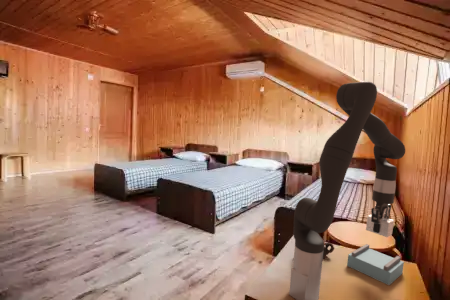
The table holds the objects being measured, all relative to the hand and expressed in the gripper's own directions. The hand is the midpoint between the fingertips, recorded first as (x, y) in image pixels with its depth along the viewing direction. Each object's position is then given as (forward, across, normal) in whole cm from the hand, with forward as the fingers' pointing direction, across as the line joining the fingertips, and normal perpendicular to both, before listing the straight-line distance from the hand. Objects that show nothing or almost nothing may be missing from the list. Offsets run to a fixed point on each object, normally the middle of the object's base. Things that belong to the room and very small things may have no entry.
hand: (379, 230), depth 106 cm
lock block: (+1, 0, 0) cm, 1 cm away
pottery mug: (+17, -8, +20) cm, 28 cm away
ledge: (+17, 0, 0) cm, 17 cm away
